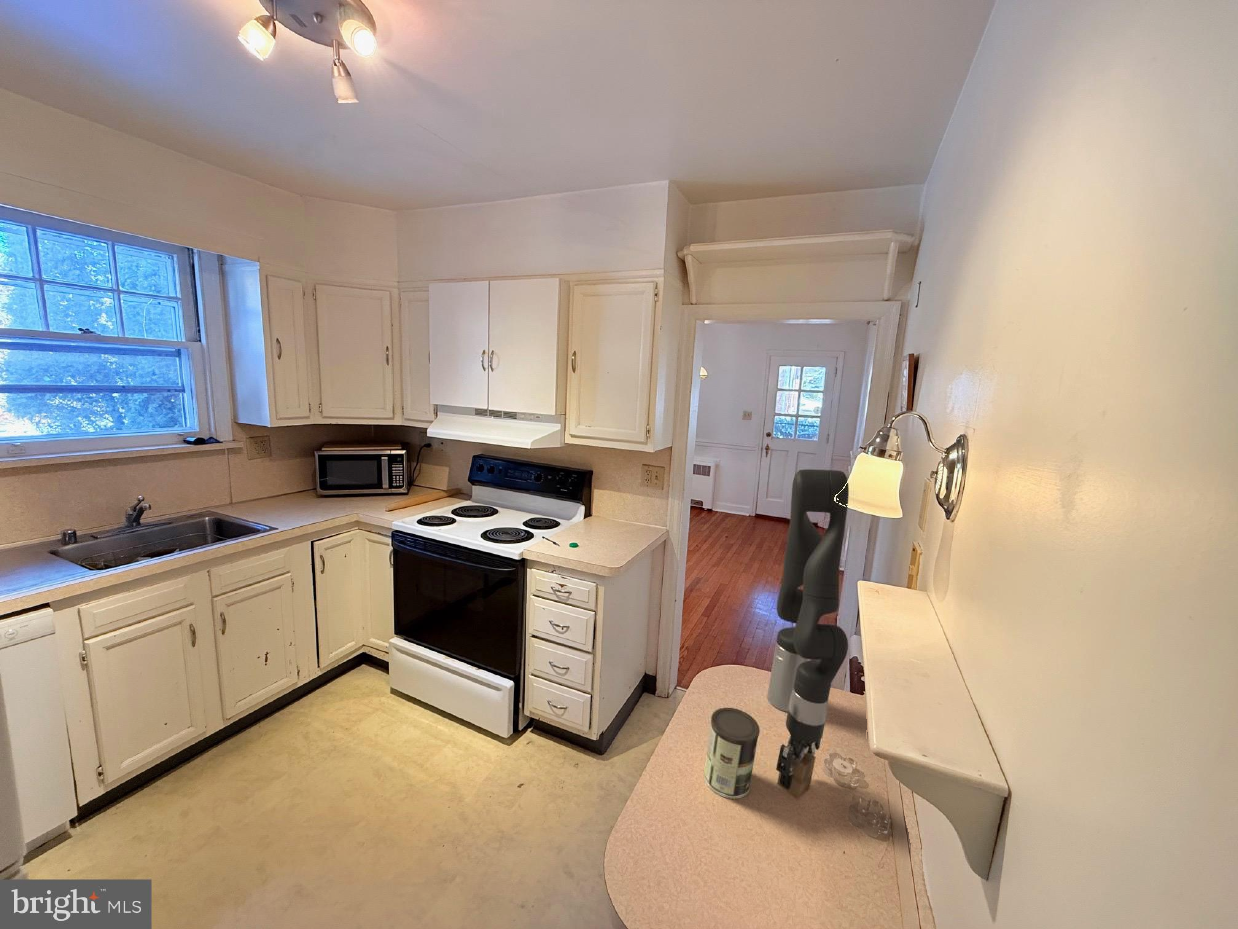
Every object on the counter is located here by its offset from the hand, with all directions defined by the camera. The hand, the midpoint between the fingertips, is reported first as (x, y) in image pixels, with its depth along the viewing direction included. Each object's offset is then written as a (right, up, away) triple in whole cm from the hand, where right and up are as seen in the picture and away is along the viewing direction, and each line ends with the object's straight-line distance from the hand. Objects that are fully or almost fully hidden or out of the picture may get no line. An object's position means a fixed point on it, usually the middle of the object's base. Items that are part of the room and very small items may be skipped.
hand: (794, 777), depth 107 cm
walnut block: (0, -2, 0) cm, 2 cm away
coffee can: (-15, -1, +1) cm, 15 cm away
